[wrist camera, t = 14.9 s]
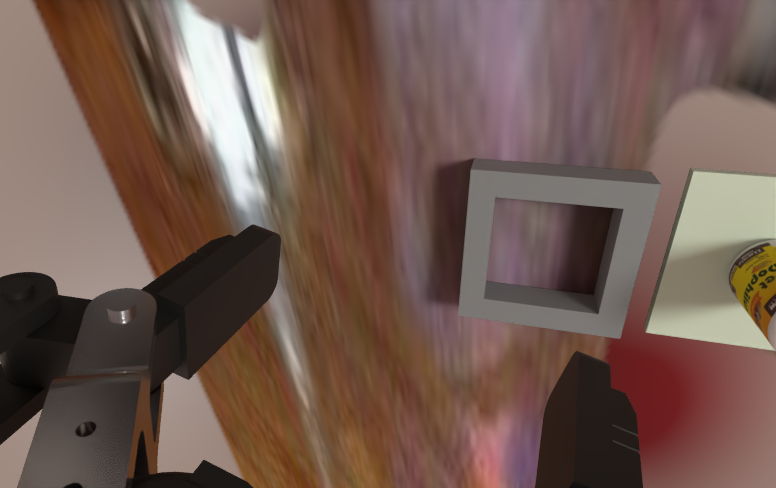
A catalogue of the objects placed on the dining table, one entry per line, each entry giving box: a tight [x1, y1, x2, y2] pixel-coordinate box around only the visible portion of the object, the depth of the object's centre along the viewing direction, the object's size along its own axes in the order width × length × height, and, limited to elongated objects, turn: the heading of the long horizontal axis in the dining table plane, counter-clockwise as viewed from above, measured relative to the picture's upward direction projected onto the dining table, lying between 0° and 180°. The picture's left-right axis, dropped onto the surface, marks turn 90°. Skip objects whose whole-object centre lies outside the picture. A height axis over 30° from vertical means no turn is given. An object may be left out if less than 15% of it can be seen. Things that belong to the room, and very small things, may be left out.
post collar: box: [458, 159, 661, 338], centre depth 39 cm, size 13×13×3 cm
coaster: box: [644, 168, 776, 350], centre depth 36 cm, size 14×14×1 cm
